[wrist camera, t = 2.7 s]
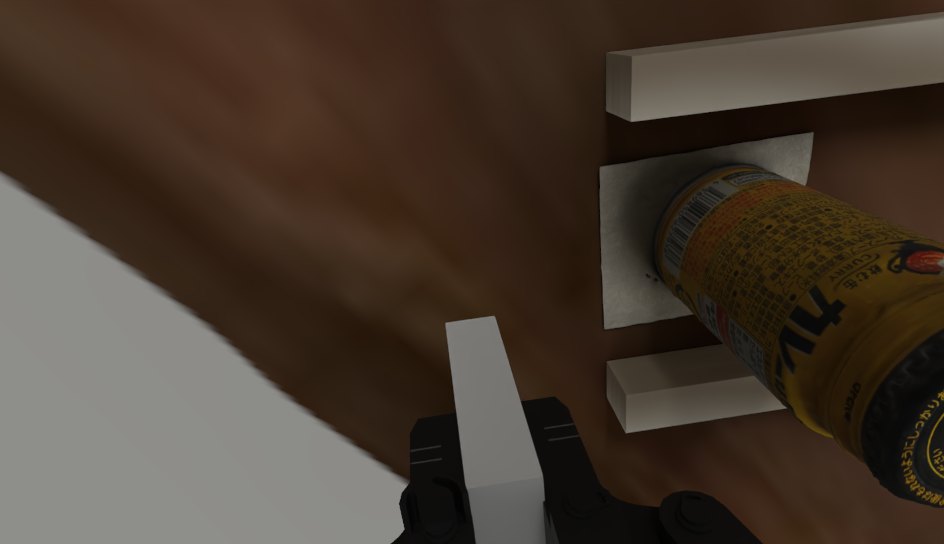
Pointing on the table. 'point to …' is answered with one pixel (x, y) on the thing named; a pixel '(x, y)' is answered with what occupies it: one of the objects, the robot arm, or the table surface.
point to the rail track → (730, 87)
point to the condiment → (790, 294)
